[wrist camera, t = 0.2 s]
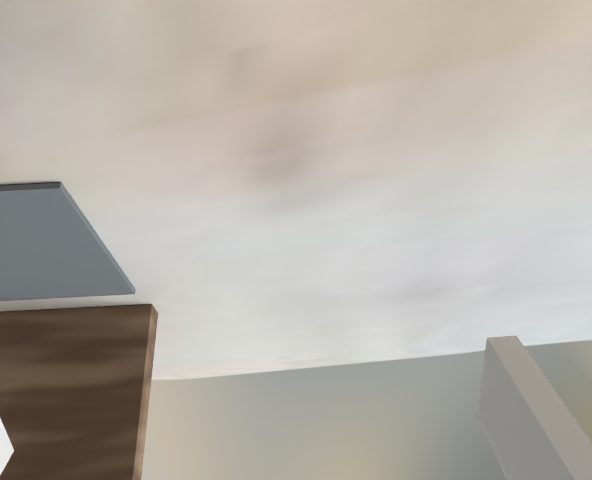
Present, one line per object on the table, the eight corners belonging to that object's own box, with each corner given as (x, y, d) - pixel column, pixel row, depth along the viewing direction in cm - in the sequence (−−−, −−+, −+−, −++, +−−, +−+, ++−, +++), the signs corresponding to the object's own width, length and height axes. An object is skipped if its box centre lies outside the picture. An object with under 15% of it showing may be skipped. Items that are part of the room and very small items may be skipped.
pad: (-170, 194, 29) (-173, 200, 29) (61, 182, 29) (59, 188, 29) (-28, 297, 41) (-29, 302, 41) (135, 289, 41) (134, 294, 41)
